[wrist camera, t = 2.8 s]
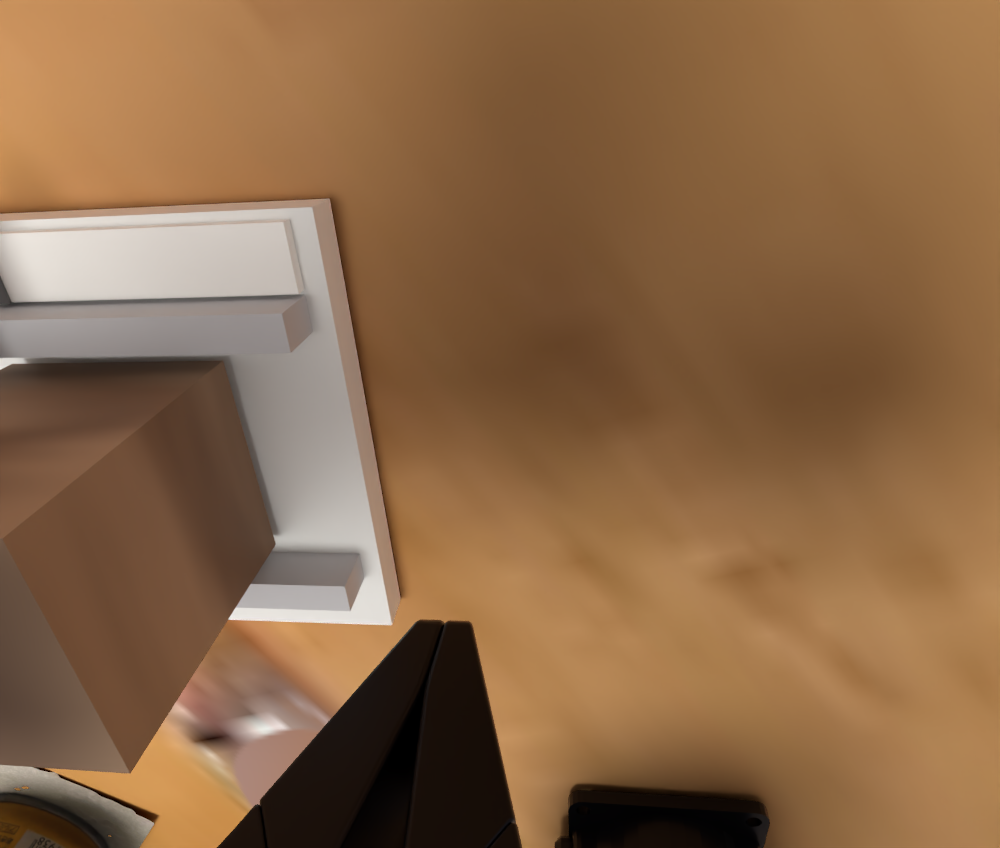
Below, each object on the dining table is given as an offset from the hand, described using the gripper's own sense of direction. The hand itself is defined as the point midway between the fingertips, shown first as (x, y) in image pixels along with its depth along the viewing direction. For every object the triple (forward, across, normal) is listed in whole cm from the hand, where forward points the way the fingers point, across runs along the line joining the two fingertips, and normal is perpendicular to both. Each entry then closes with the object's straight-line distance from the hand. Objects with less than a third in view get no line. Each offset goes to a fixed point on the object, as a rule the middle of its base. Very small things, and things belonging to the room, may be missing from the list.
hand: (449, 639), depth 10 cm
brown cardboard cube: (+5, +8, -2) cm, 10 cm away
